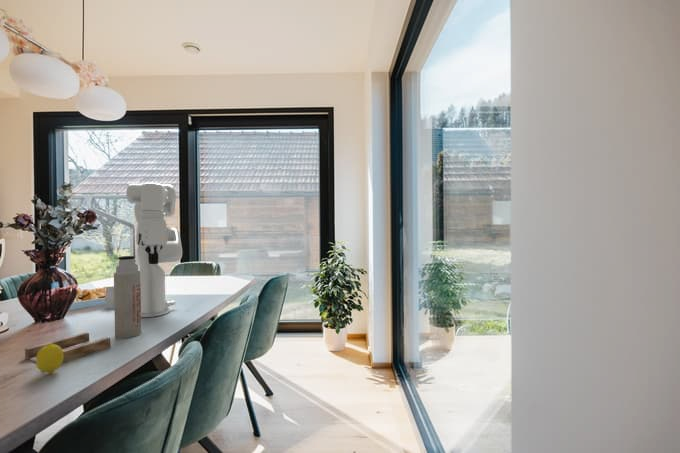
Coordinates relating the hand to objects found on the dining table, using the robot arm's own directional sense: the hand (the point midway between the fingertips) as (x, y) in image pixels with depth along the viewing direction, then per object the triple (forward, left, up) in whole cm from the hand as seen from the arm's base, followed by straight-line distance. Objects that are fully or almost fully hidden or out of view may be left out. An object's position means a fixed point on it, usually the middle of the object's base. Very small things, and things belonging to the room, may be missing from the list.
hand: (153, 263), depth 128 cm
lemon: (+38, +12, -24) cm, 47 cm away
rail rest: (+28, 0, -24) cm, 37 cm away
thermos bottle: (+10, 0, -24) cm, 26 cm away
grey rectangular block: (-12, -46, -24) cm, 53 cm away
